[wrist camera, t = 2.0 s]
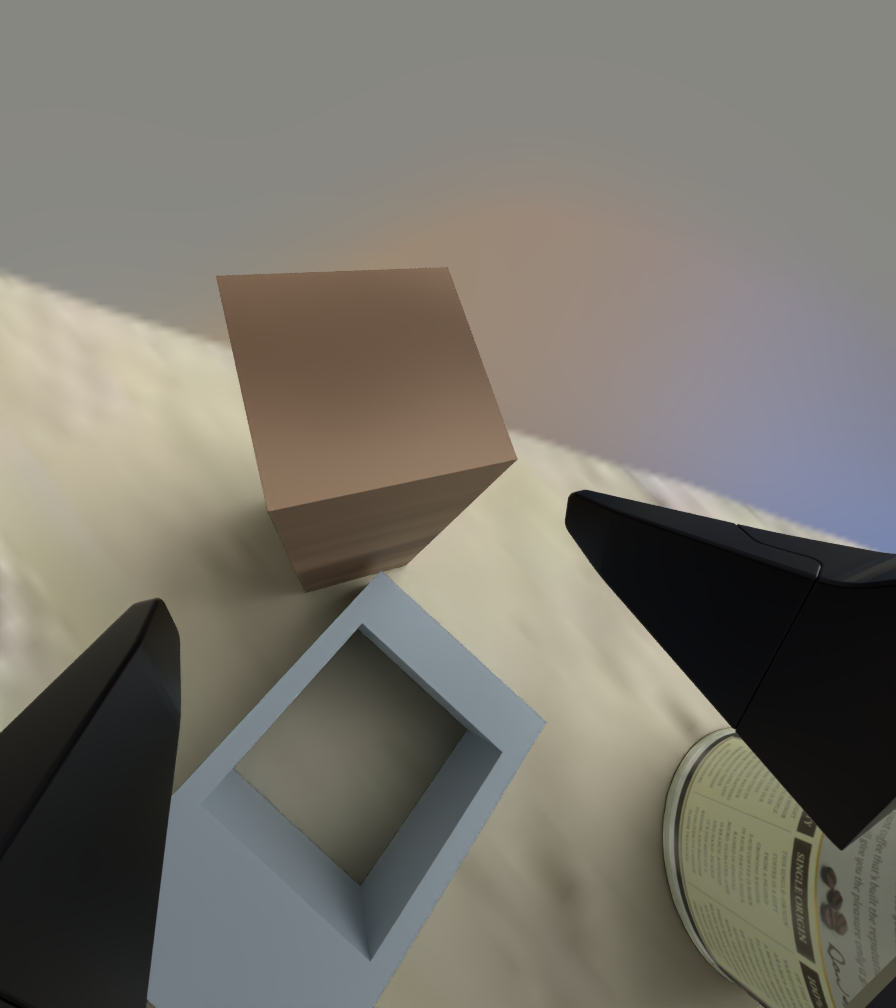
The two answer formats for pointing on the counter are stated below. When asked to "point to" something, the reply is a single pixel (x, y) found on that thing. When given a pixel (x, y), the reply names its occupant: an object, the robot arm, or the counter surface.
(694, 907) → the coffee can
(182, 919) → the blue peg holder
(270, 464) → the peg
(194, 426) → the counter surface
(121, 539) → the counter surface
